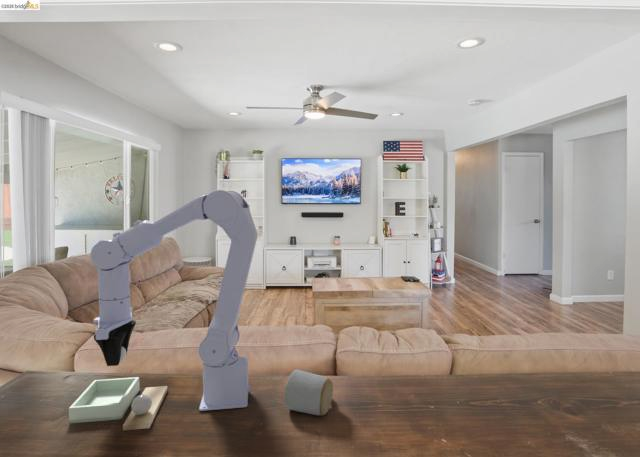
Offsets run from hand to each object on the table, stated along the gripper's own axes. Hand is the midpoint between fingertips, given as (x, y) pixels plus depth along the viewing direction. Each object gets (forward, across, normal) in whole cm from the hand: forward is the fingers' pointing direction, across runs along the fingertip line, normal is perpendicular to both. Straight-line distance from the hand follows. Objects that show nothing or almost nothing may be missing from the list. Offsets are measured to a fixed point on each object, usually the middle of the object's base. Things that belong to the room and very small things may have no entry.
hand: (116, 360), depth 79 cm
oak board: (+8, +4, +7) cm, 12 cm away
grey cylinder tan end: (+9, +9, +40) cm, 42 cm away
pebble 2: (+6, +8, +7) cm, 12 cm away
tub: (+9, +2, -2) cm, 9 cm away
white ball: (-1, 0, 0) cm, 1 cm away
